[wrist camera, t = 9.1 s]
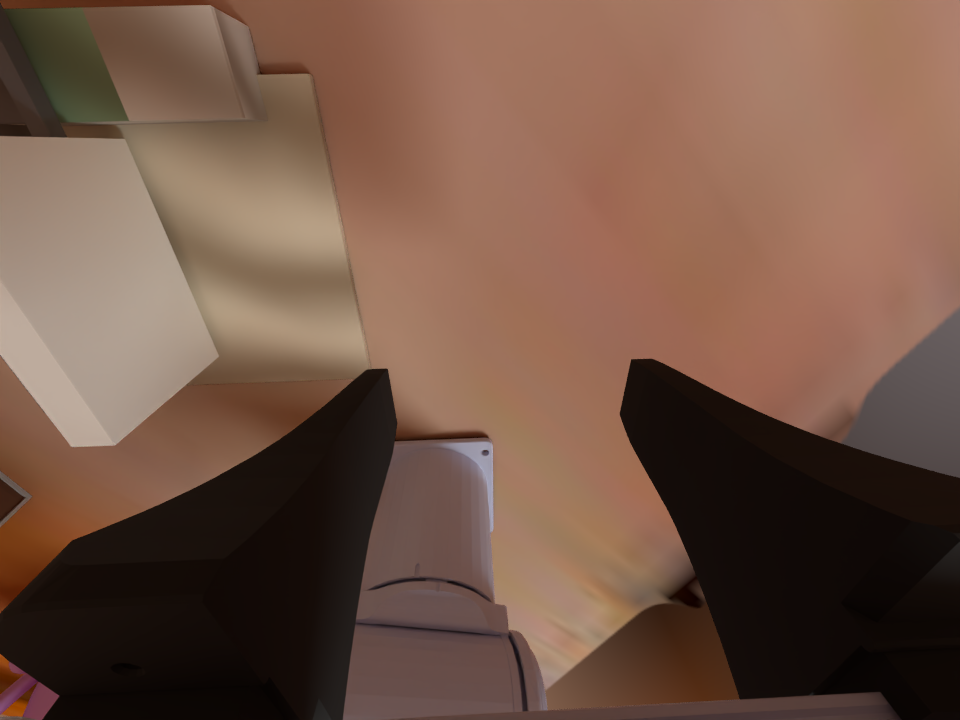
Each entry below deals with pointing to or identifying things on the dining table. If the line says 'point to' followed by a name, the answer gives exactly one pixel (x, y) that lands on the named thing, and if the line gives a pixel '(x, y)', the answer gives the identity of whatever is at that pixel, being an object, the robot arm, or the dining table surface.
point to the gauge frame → (214, 175)
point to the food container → (10, 498)
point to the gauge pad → (87, 275)
